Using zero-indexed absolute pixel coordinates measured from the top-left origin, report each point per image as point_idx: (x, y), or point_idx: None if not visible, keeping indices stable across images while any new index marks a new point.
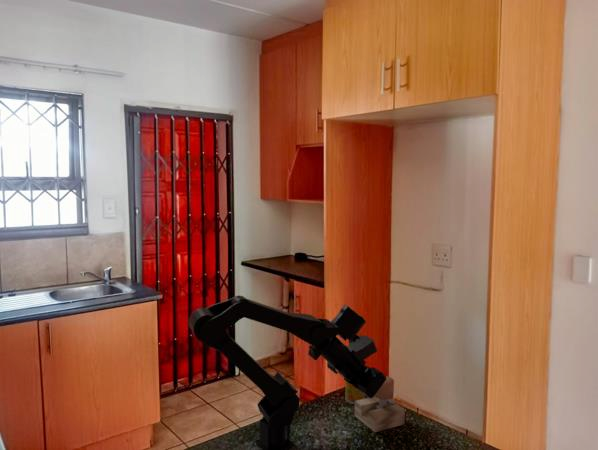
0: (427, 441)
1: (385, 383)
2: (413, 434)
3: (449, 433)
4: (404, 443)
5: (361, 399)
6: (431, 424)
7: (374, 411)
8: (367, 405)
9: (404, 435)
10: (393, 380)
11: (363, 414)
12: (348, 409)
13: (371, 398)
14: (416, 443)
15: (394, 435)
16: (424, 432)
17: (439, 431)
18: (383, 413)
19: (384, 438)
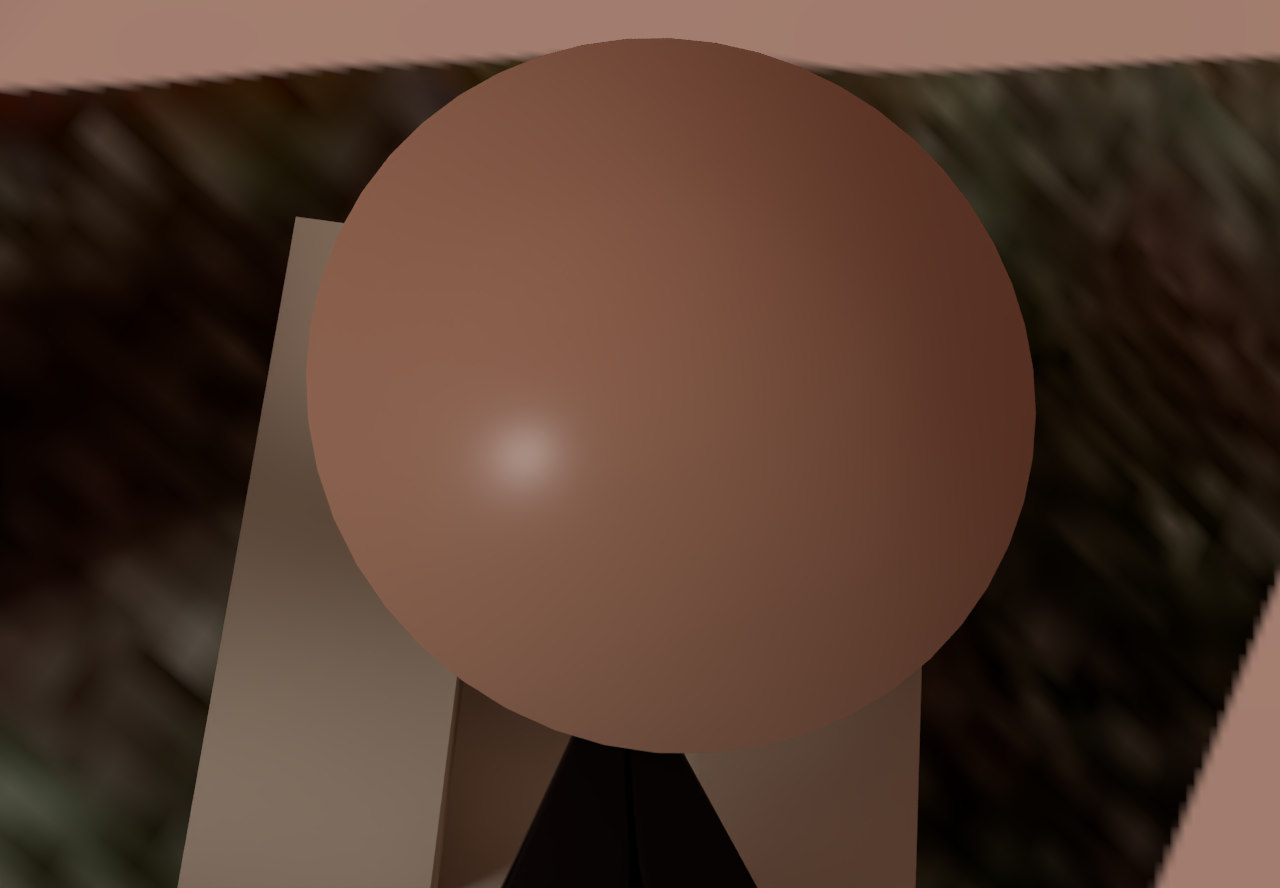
0: (1266, 437)
1: (955, 527)
2: (1080, 462)
3: (1229, 92)
4: (1198, 722)
5: (205, 754)
6: (993, 96)
7: (754, 858)
8: (443, 773)
9: (1052, 580)
10: (883, 131)
11: (444, 842)
12: (11, 812)
13: (293, 532)
14: (1253, 587)
15: (997, 699)
16: (1099, 310)
17: (1153, 148)
18: (889, 750)
19: (999, 882)
